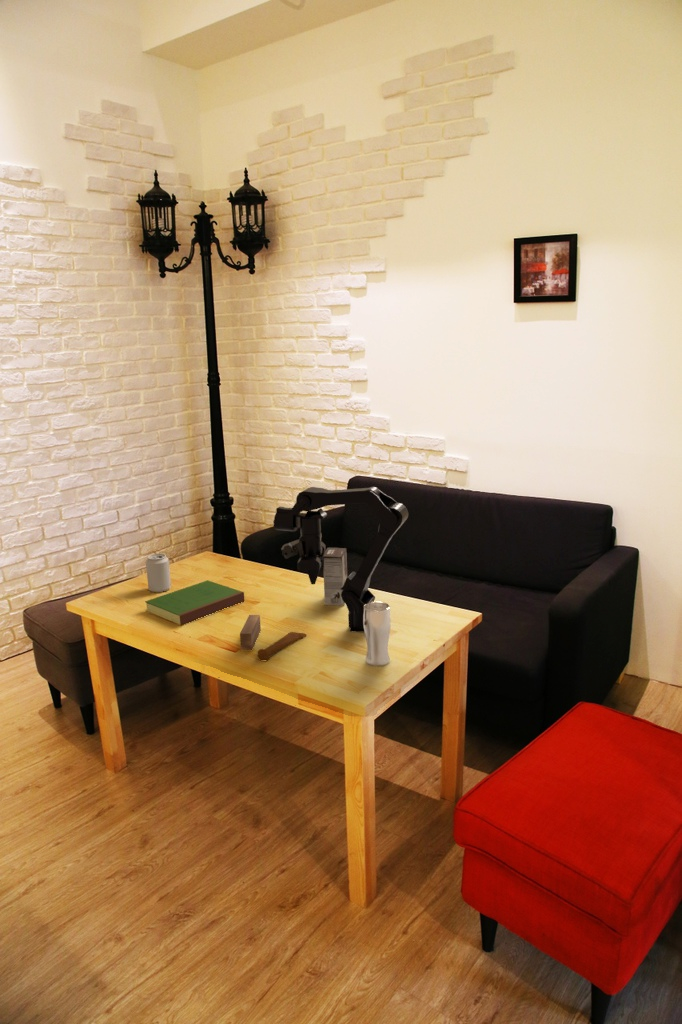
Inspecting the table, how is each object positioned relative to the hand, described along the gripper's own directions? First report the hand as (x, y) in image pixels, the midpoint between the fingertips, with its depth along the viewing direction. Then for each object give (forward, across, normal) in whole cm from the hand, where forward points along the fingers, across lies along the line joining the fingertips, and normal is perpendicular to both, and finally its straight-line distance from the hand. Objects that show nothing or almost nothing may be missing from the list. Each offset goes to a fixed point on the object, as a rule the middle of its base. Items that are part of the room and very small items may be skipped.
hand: (313, 584), depth 205 cm
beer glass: (+12, +25, +19) cm, 34 cm away
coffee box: (+12, -18, +5) cm, 22 cm away
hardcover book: (+13, -14, -39) cm, 43 cm away
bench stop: (+12, +12, -16) cm, 24 cm away
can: (+12, -29, -56) cm, 64 cm away
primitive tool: (+13, +16, -8) cm, 22 cm away
